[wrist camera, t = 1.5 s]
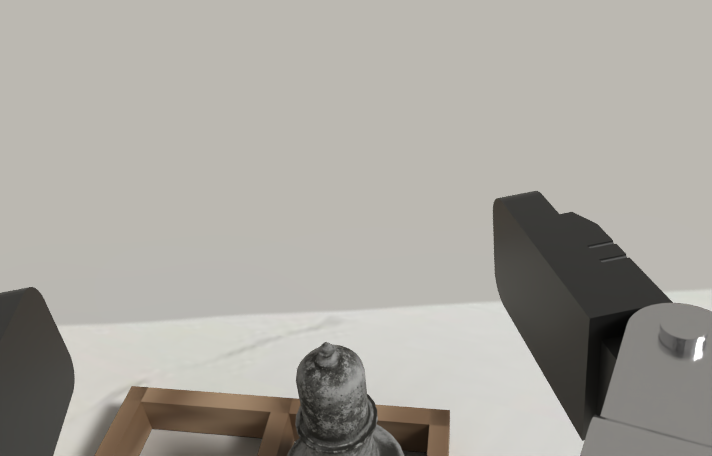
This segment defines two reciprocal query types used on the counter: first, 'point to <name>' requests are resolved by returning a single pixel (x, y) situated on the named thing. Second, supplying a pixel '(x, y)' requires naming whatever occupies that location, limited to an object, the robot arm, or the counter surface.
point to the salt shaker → (337, 408)
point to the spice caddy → (253, 421)
